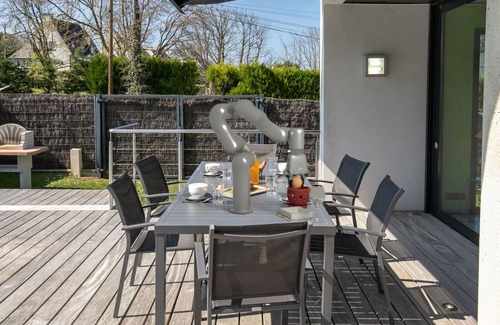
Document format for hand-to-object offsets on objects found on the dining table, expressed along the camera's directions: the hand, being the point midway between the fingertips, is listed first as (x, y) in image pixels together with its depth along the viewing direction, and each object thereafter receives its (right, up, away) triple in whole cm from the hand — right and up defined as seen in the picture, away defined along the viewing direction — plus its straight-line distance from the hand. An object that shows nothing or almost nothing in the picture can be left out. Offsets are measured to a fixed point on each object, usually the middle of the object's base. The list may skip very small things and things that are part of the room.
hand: (296, 186), depth 255 cm
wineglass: (+9, -17, -9) cm, 21 cm away
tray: (0, -16, +2) cm, 16 cm away
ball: (0, -1, 0) cm, 1 cm away
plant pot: (+3, -13, +21) cm, 25 cm away
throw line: (-7, -16, -2) cm, 18 cm away
